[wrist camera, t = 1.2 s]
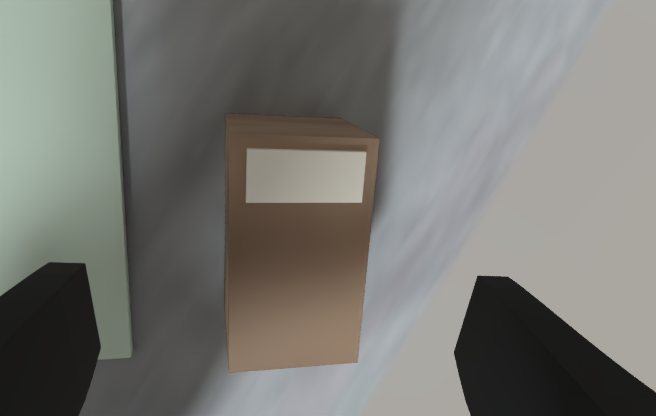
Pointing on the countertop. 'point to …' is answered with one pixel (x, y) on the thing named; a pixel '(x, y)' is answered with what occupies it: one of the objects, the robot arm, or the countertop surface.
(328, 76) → the countertop surface
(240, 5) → the countertop surface
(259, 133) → the labeled brown box
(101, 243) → the sage mat
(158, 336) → the countertop surface
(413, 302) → the countertop surface
